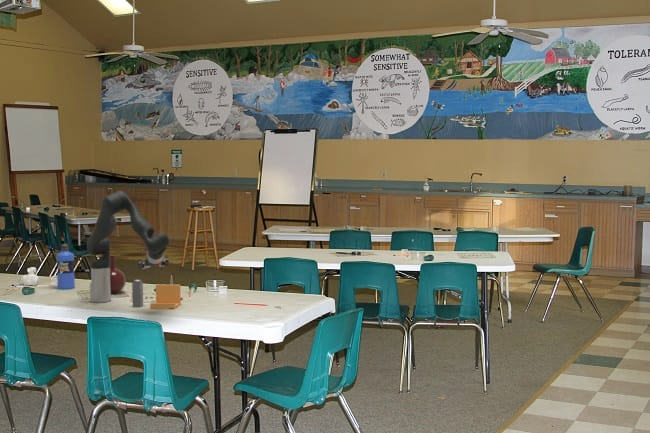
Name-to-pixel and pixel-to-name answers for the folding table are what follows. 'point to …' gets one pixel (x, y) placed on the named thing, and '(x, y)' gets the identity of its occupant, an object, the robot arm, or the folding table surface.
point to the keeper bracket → (167, 297)
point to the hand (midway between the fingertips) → (152, 268)
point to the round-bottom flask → (116, 277)
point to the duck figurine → (30, 277)
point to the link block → (137, 293)
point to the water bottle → (65, 269)
